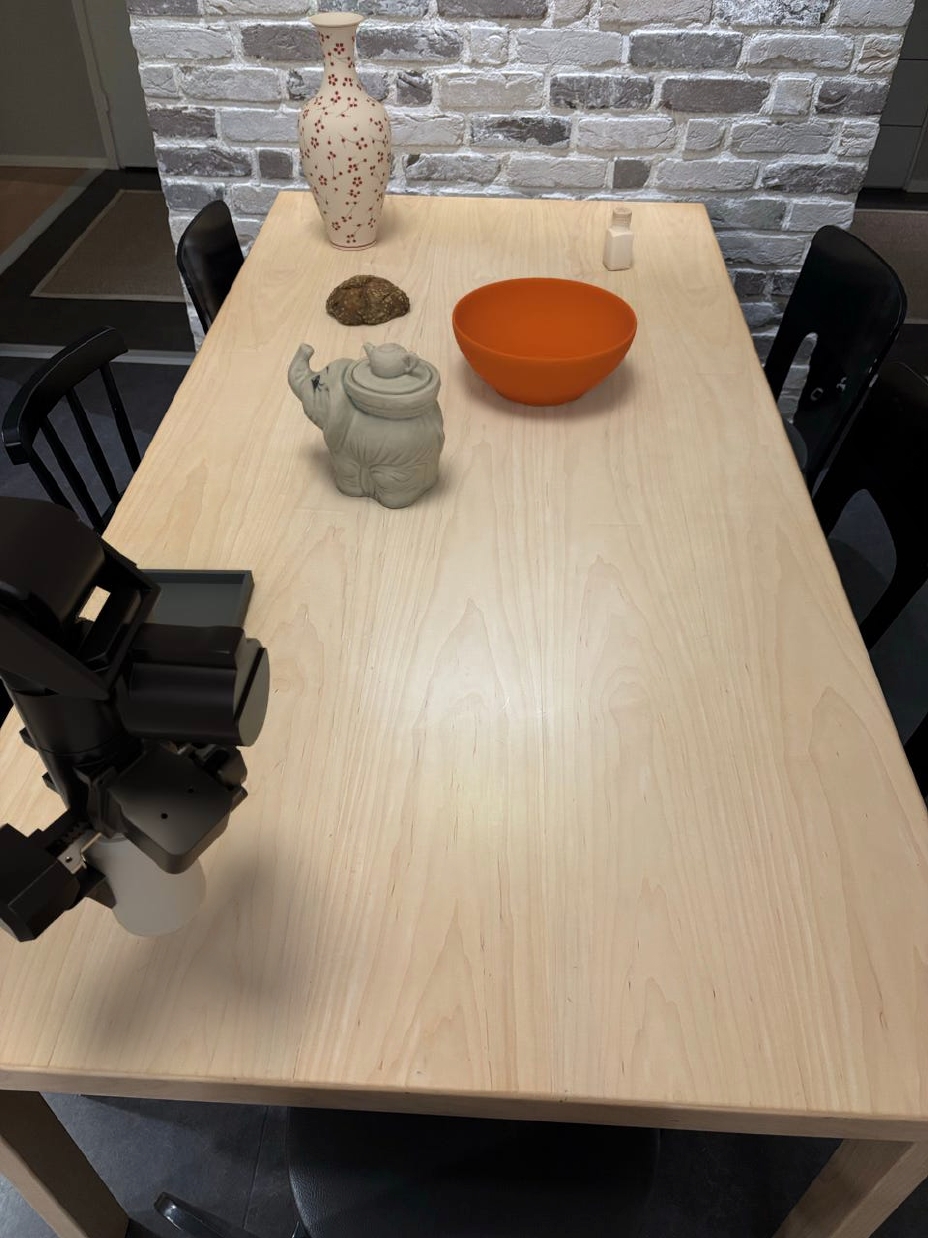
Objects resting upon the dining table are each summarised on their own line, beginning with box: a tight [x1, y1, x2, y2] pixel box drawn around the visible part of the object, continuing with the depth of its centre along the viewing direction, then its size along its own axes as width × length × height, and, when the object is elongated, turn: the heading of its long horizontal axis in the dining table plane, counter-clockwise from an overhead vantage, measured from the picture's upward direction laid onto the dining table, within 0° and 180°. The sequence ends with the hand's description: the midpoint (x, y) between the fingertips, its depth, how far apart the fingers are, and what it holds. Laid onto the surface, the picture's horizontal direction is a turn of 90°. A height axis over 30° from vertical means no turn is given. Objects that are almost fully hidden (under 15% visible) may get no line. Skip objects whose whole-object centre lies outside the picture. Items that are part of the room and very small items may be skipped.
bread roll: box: [325, 274, 411, 326], centre depth 146 cm, size 13×12×5 cm
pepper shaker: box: [602, 206, 635, 271], centre depth 157 cm, size 4×4×10 cm
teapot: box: [287, 341, 446, 509], centre depth 106 cm, size 16×15×19 cm
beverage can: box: [82, 833, 207, 938], centre depth 60 cm, size 6×6×12 cm
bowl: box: [451, 277, 638, 408], centre depth 127 cm, size 25×25×10 cm
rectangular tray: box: [139, 568, 255, 629], centre depth 92 cm, size 17×13×2 cm
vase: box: [297, 11, 392, 251], centre depth 156 cm, size 16×16×35 cm
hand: (147, 865), depth 61 cm, fingers closed on beverage can, 6 cm apart
